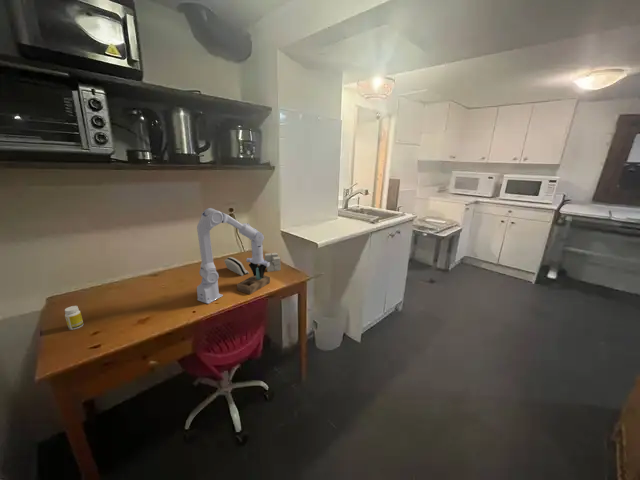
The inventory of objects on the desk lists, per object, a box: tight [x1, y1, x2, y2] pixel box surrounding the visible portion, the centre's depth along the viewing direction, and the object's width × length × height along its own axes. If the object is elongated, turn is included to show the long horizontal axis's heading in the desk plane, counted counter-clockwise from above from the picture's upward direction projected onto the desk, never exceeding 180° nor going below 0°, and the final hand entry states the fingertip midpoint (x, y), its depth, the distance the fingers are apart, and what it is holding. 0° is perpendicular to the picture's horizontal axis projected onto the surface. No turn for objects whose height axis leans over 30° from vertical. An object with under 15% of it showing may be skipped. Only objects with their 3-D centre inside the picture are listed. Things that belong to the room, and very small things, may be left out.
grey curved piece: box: [224, 256, 250, 277], centre depth 168 cm, size 17×5×10 cm, turn 48°
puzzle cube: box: [258, 252, 282, 273], centre depth 174 cm, size 12×12×8 cm
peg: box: [256, 267, 262, 280], centre depth 152 cm, size 3×3×9 cm
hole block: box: [236, 274, 271, 295], centre depth 149 cm, size 16×9×4 cm, turn 152°
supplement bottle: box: [64, 305, 84, 331], centre depth 112 cm, size 5×5×8 cm
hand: (258, 276), depth 152 cm, fingers open, 4 cm apart
